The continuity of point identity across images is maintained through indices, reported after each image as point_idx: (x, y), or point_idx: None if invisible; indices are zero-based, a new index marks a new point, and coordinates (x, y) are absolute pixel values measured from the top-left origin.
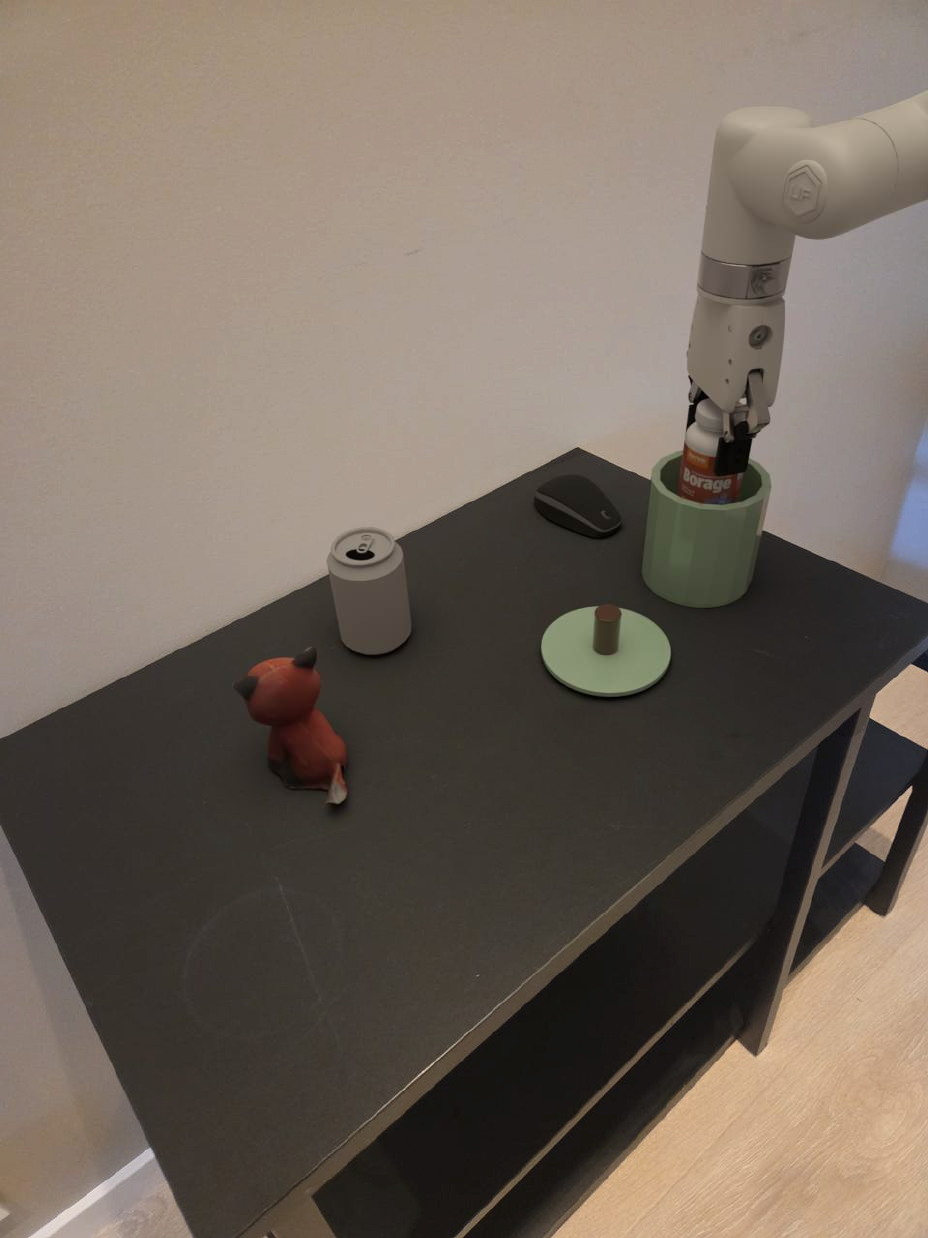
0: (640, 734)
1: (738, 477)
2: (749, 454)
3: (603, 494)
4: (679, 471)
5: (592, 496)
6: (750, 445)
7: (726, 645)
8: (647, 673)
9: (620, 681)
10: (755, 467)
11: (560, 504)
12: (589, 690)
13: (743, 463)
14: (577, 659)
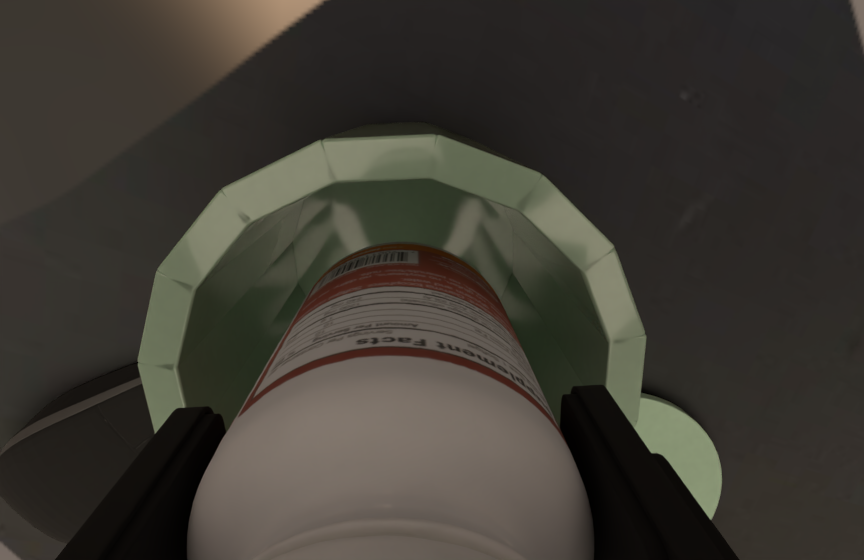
0: (783, 476)
1: (522, 352)
2: (643, 443)
3: (96, 414)
4: (223, 397)
5: (115, 450)
6: (679, 498)
7: (646, 274)
8: (694, 453)
9: (696, 498)
10: (361, 177)
11: None
12: None
13: (672, 471)
14: None
